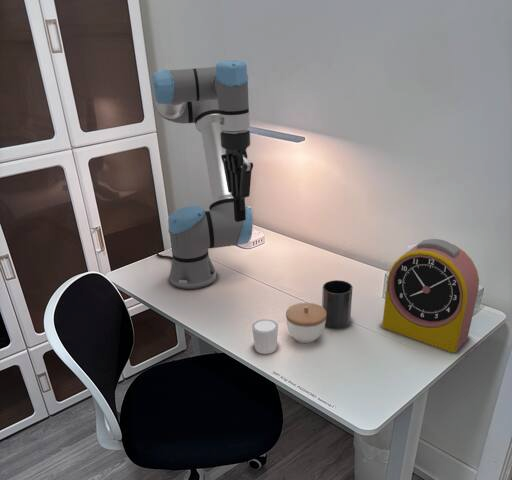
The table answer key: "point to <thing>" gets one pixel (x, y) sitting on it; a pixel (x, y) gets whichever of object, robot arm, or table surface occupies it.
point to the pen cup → (337, 303)
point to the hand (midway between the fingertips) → (240, 220)
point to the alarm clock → (432, 294)
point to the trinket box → (306, 321)
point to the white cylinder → (265, 335)
